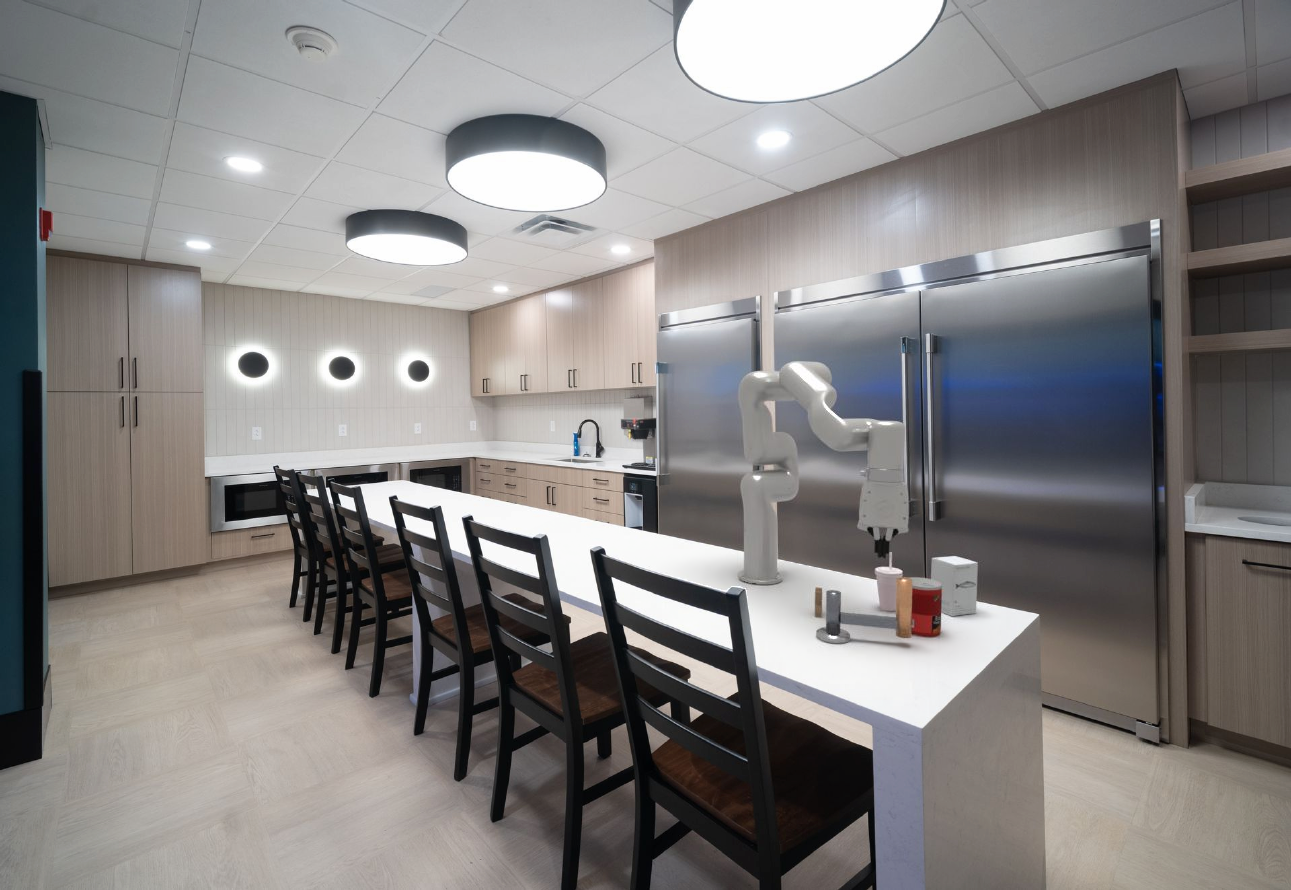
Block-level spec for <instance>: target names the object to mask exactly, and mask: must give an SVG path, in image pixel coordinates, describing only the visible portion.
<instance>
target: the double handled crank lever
mask: <svg viewBox="0 0 1291 890" xmlns="http://www.w3.org/2000/svg"><path fill="white" fill-rule="evenodd" d="M825 595H826V597H825V599H826V600H825V601H826V602H825V603H826V605H825V627H826V632H827V633H829V634H840V629H841V625H848V626H849V625H850V626H860V627H872V628H879V629H888V630H889V629H891V630H895V636H896V637H897V638H901V639H911V638H912V634H911V624H912V579H911V578H910V577H907V576H906V577H905V576H902V577H898V578H897V590H896V610H895V616H887V615H876V614H866V613H854V612H845V611H844V612H843V611H842V592H841V591H839V590H835V589H828V590H826V594H825Z"/></svg>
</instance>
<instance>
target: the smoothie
mask: <svg viewBox="0 0 1291 890" xmlns="http://www.w3.org/2000/svg"><path fill="white" fill-rule="evenodd" d="M888 555H889V557H888V559H889V560H888V561H889V562H888V563H889V565H888V566H879V567H876V568H874V574H875V576H876V585H877V586H876V587H877V594H878V601H879V602H878V603H879V609H880V610H882V611H885V612H896V590H897V578H898V577H904V576H903V575H904V574H903V570H901V569H900V568H898V567H897V568H896V567H893V565H892V564H893V552H890V551H889V554H888Z"/></svg>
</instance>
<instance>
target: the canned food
mask: <svg viewBox="0 0 1291 890" xmlns="http://www.w3.org/2000/svg"><path fill="white" fill-rule="evenodd" d="M909 578H911V579H912V624H911V635H914V636H918V637H930V638H931V637H936V636H938V635H940V633H941V630H942V612H941V607H942V584H941V583H940V582H938V581H935V580H932V579H931V578H926V577H913V576H912V577H911V576H910V577H909Z"/></svg>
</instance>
